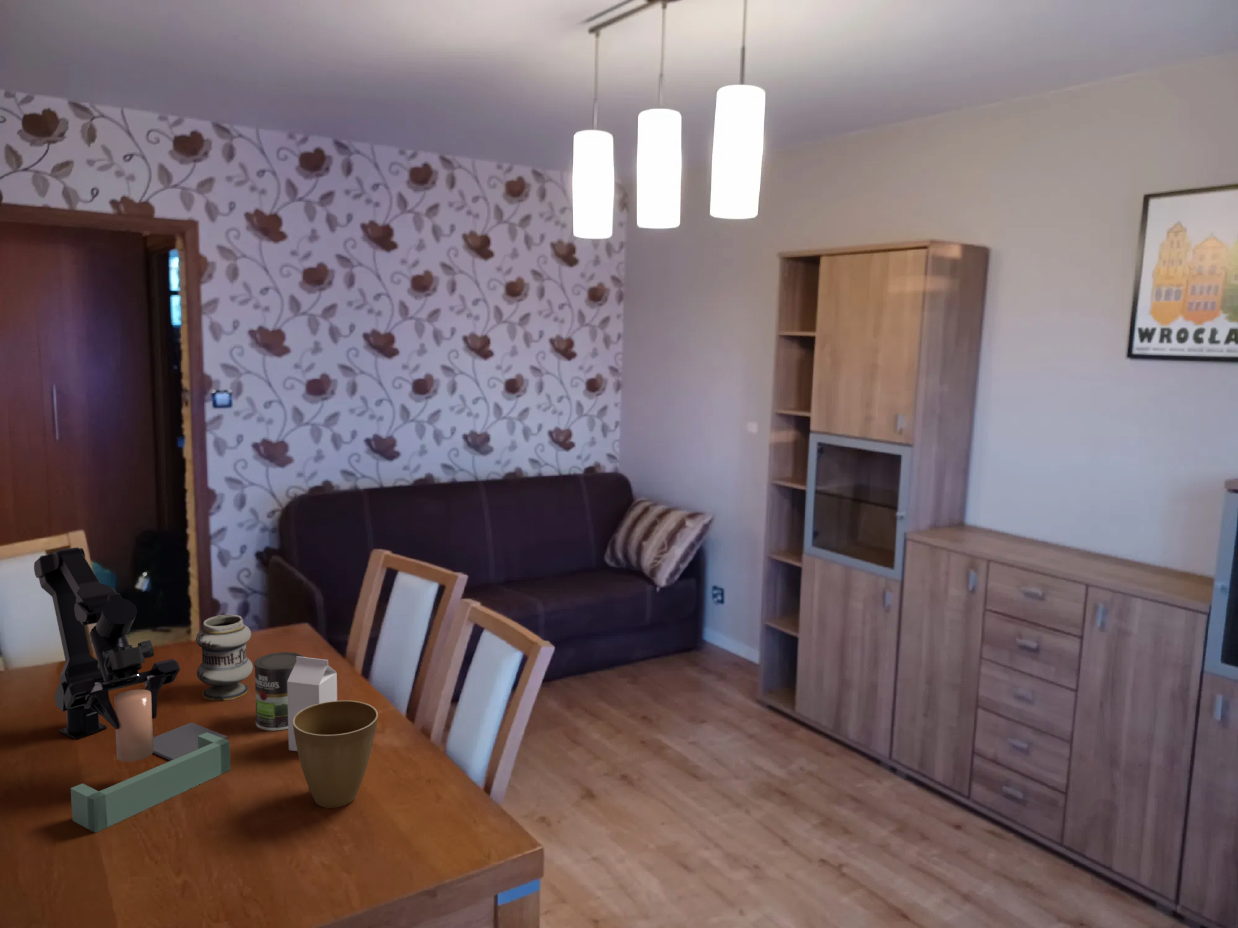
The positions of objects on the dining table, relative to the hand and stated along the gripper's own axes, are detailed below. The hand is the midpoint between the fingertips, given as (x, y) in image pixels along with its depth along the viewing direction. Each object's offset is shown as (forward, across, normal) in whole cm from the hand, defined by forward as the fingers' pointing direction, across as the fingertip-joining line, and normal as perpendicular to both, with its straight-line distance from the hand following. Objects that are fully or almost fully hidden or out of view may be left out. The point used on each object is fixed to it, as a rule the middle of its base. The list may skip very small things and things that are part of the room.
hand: (136, 722), depth 160 cm
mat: (0, +13, +17) cm, 21 cm away
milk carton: (+14, +31, +4) cm, 34 cm away
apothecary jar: (-13, +30, +31) cm, 45 cm away
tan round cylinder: (+4, 0, +6) cm, 7 cm away
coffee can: (+3, +32, +15) cm, 35 cm away
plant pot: (+30, +24, -12) cm, 40 cm away
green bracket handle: (+12, +1, +5) cm, 14 cm away
